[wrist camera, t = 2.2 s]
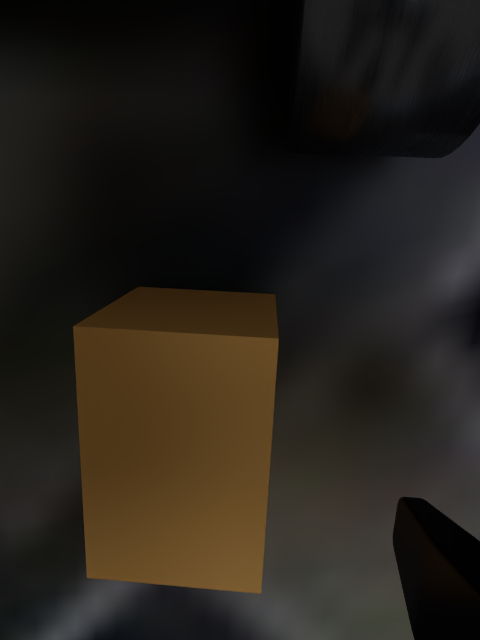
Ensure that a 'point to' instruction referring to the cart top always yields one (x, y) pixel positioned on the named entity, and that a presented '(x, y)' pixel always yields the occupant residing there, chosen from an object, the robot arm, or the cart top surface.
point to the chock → (177, 436)
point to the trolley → (384, 77)
